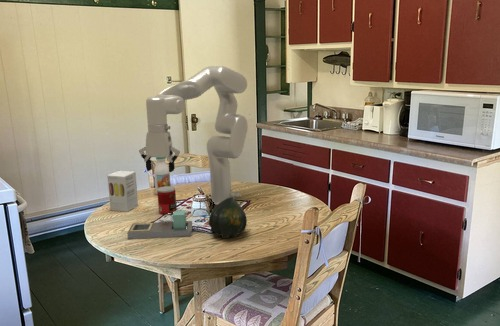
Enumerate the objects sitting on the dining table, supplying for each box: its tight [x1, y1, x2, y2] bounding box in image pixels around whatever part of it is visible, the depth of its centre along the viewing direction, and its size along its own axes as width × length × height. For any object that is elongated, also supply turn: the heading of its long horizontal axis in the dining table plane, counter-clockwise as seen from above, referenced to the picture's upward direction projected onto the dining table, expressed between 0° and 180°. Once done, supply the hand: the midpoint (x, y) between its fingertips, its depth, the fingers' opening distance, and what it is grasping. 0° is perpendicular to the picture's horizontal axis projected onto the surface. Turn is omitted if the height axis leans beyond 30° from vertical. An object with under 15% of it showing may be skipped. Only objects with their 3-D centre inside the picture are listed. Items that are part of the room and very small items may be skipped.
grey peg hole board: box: [127, 220, 193, 240], centre depth 171 cm, size 24×10×3 cm, turn 93°
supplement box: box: [107, 170, 139, 213], centre depth 199 cm, size 10×9×17 cm
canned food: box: [156, 186, 178, 216], centre depth 193 cm, size 8×8×11 cm
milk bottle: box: [153, 157, 172, 196], centre depth 220 cm, size 8×8×20 cm
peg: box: [172, 210, 187, 229], centre depth 171 cm, size 4×4×8 cm
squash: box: [208, 197, 248, 239], centre depth 167 cm, size 14×15×15 cm
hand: (160, 170), depth 174 cm, fingers open, 9 cm apart
